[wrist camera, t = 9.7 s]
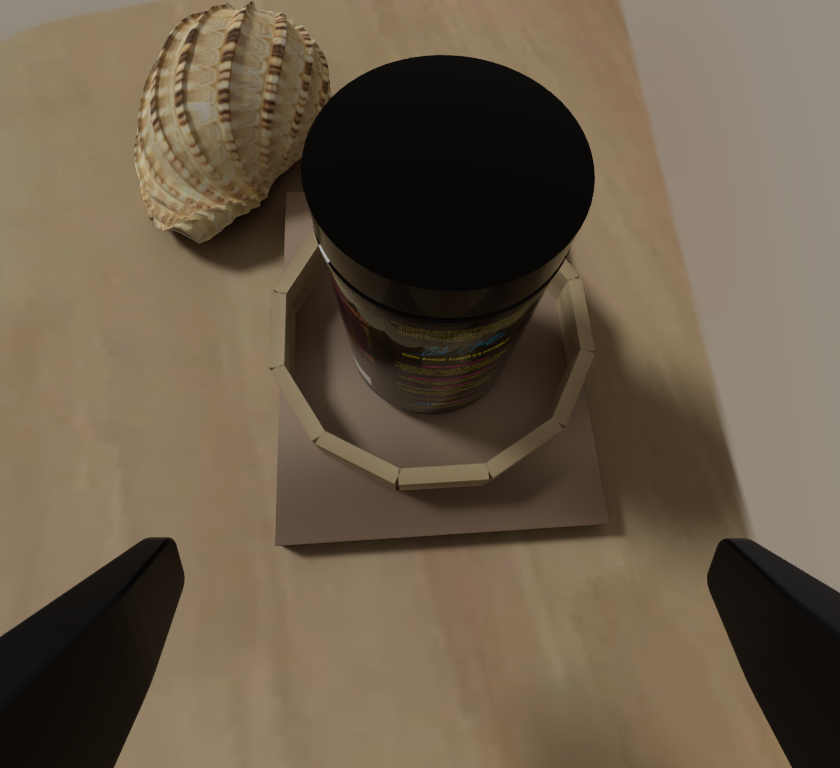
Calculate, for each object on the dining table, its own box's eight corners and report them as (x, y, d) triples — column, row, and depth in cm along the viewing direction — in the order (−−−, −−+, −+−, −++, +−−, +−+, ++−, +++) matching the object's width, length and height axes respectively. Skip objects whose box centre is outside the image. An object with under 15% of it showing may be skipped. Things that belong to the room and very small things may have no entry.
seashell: (333, 265, 24) (343, 44, 23) (302, 244, 18) (313, -59, 17) (173, 255, 24) (175, 33, 23) (88, 230, 18) (85, -74, 17)
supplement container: (539, 370, 18) (657, 206, 9) (401, 450, 17) (394, 348, 8) (454, 251, 20) (490, 19, 11) (323, 318, 18) (250, 119, 10)
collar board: (601, 524, 17) (629, 520, 15) (281, 546, 17) (261, 545, 14) (542, 194, 22) (557, 154, 19) (290, 204, 21) (276, 165, 19)
